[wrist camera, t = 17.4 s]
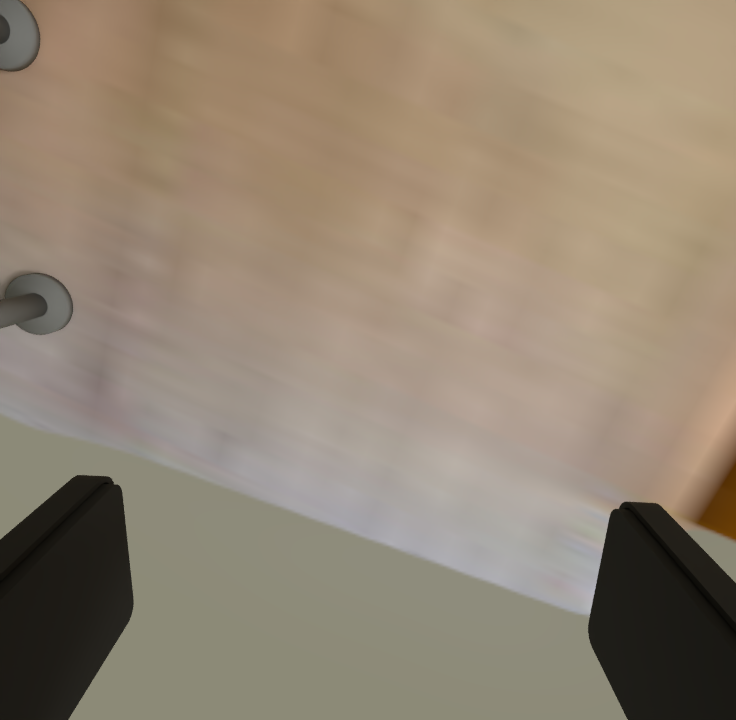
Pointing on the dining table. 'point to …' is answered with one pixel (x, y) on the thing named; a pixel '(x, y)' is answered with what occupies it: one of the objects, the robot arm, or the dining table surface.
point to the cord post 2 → (36, 304)
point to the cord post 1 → (17, 36)
